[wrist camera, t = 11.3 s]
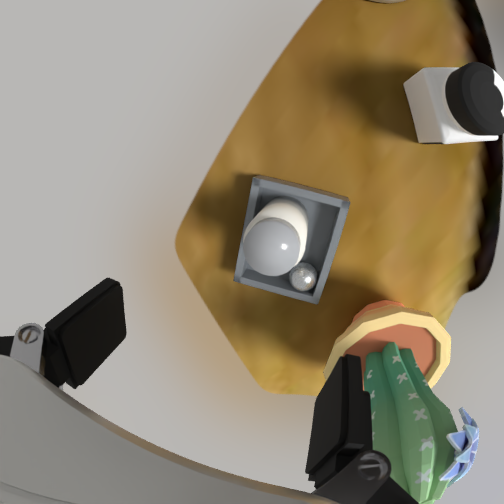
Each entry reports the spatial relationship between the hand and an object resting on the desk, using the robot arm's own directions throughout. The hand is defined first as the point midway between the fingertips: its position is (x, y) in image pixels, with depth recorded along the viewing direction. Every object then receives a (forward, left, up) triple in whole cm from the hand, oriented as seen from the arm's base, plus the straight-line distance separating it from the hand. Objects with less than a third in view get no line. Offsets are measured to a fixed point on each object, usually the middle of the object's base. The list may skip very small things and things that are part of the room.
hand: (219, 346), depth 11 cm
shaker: (0, 0, -22) cm, 22 cm away
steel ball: (+6, +3, -22) cm, 23 cm away
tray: (+2, +1, -23) cm, 23 cm away
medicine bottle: (-17, +14, -23) cm, 32 cm away
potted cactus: (+11, +16, -23) cm, 30 cm away
